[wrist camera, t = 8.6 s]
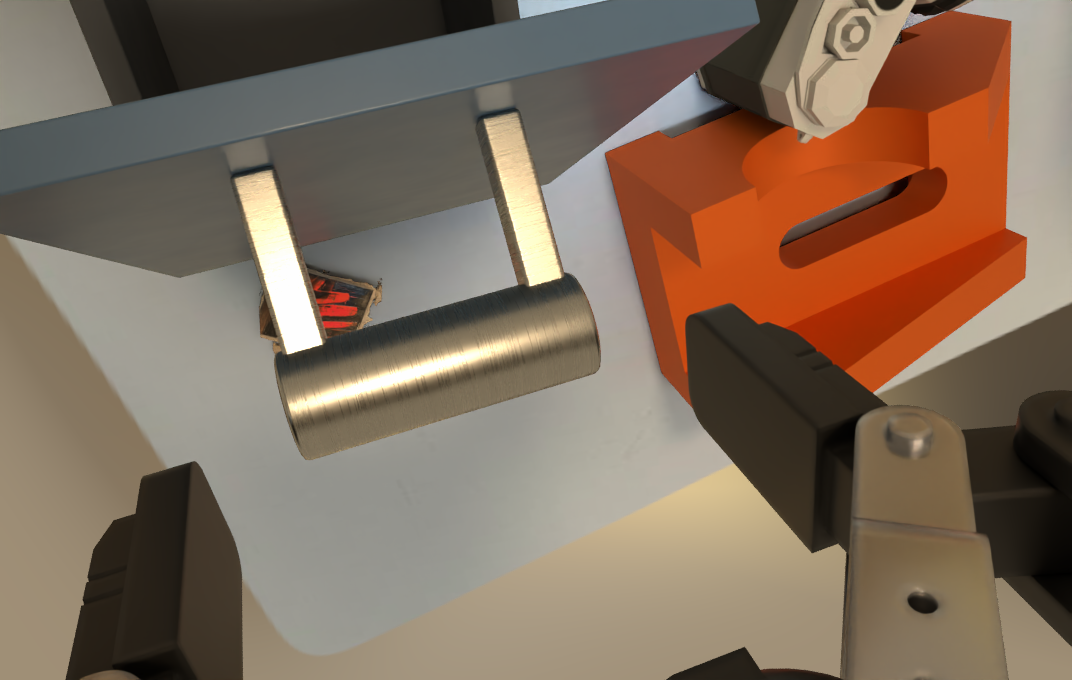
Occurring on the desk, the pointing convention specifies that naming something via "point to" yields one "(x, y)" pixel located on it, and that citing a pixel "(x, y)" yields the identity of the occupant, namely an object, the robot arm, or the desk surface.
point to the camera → (812, 59)
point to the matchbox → (331, 305)
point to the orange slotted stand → (825, 183)
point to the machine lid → (373, 194)
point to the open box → (254, 36)
